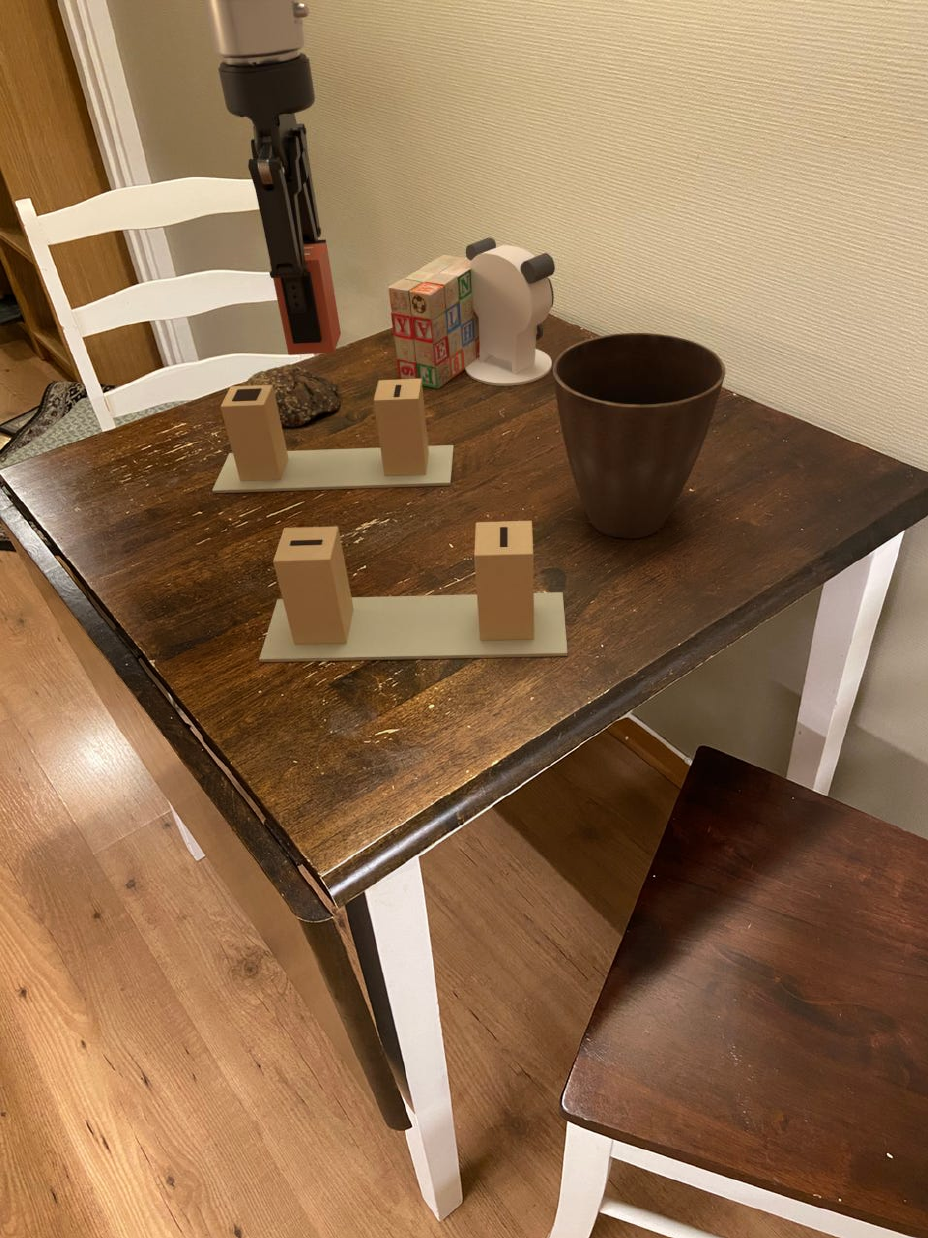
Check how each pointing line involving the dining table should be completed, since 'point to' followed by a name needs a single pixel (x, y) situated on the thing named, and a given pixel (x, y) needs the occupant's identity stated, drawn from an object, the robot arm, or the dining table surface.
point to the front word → (412, 606)
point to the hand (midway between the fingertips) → (312, 329)
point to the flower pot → (634, 424)
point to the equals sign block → (324, 302)
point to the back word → (274, 468)
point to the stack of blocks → (435, 321)
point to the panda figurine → (509, 312)
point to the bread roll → (298, 393)
